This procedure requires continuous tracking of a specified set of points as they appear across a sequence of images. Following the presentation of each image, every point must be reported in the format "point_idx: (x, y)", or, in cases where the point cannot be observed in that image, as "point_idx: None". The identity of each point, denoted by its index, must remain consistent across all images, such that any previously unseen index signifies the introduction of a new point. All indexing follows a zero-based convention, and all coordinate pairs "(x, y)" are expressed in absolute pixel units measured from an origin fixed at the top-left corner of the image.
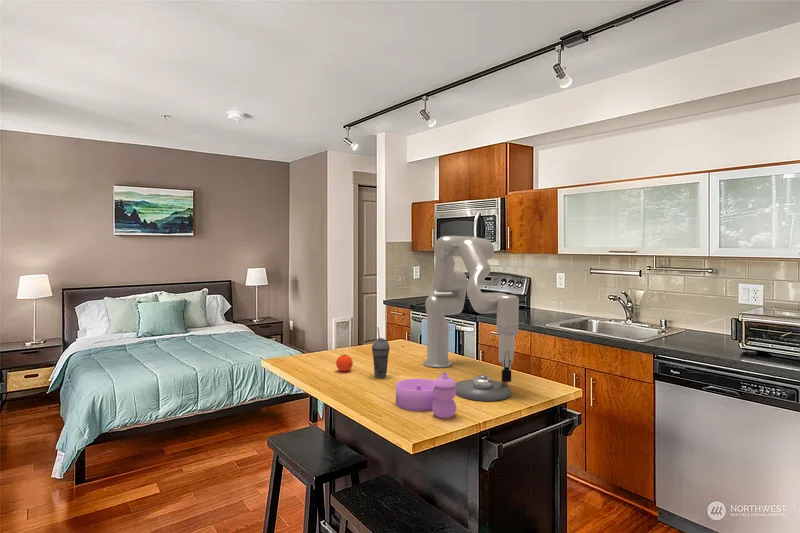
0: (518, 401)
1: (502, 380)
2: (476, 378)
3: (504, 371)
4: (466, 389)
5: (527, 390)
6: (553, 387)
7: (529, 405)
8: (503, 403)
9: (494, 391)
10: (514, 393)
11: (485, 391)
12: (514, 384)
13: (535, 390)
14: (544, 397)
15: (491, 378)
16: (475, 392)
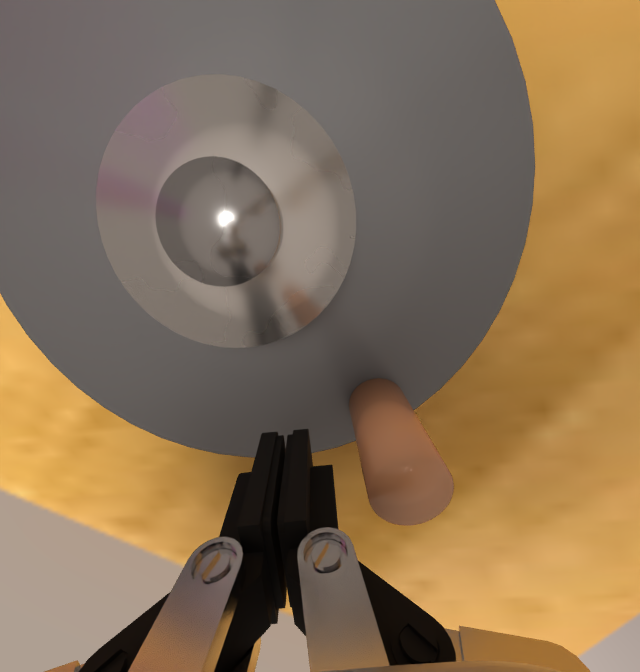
0: (173, 482)
1: (262, 439)
2: (204, 130)
3: (217, 548)
4: (74, 60)
5: None
6: (536, 619)
7: (127, 538)
8: (80, 406)
9: (154, 350)
10: (340, 446)
11: (113, 275)
12: (568, 427)
13: (448, 547)
14: None
15: (285, 325)
16: (26, 184)
